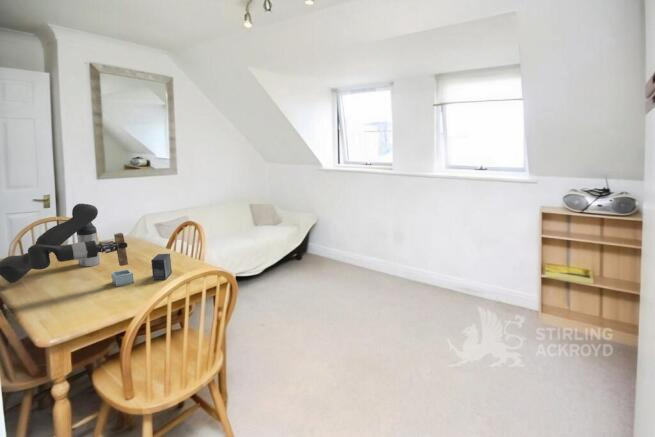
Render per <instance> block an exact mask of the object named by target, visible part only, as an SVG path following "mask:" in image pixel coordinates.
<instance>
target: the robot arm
mask: <svg viewBox="0 0 655 437" xmlns="http://www.w3.org/2000/svg"><path fill="white" fill-rule="evenodd" d="M71 212H72V213H71V217H70V218H69V219H67V220H66V221H64V222H61V223H59V224H56V225H54V226H52V227H50V228H49V229H47V230H46V231H45V232H43V233H42V234H41V235H39V236H38V237H37V239H36V241H35V244H33V245H30V246H29V247H28V249H27V252H26V253H24V254H20V255H9V256H6V257H5V258H3V259H2V260H0V276H1V277H2V278H3V279H4V280H5V281H7V282H8V283H10V284H14V283H16V282H18V281H20V280H21V279H22V278H23V277H24V276H26V274H28V273H29V272H30V271H31V270H35V271H36V270H37V271H39V270H44V269H47V268H49V266H50V264H51V258H50V254H52V253H53V254H54V256H55V258H56V260H57V262H61V263H62V262H63V263H64V262H69V261H76V260H77V262H78V265H79V266H81V267H93V266H97V265H100V263H101V258H100V253H103V254H110V253H114V252H117V251H118V249H120V248H128V243H127V242H126V241H125V240H124V242H125V243H120V244H116V243H115V241H113V240H111V241H98V232H97V228H96V226H95V225H94V223H93V221H94V220H96V219H97V217H98V213H99V211H98V208H97V207H96V206H95V205H93V204H89V203H77V204H75V205H74V206H73V208H72V211H71ZM75 233H76V237H77V238H76V239H77V242H75V243H71V244H64V243H65V242H66V241H67V240H69V239H70V238H71V237H73V235H74V234H75ZM63 244H64V245H63Z"/></svg>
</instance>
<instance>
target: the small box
mask: <svg viewBox="0 0 655 437" xmlns="http://www.w3.org/2000/svg"><path fill="white" fill-rule="evenodd" d="M150 263H151V271H152V281H166V280H168V278H169V277H170V276H171V275H172V273H173V270H172V259H171V253H158V254H156V256H154V257H153V258H152V259H151V262H150Z"/></svg>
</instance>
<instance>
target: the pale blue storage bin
mask: <svg viewBox="0 0 655 437" xmlns="http://www.w3.org/2000/svg"><path fill="white" fill-rule="evenodd" d="M111 281H112V282H111V283H112V284H113V285H114V286H115V287H116V288H117V287H123V286H126V285H131V284H134V283H135V281H134V273H133V272H132V271H131V270H130V269H129V268H128V269H122V270H116V271H112V272H111Z"/></svg>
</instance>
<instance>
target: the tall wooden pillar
mask: <svg viewBox="0 0 655 437" xmlns="http://www.w3.org/2000/svg"><path fill="white" fill-rule="evenodd" d="M113 235H114V236H113V237H114V242H115V243H116V244H120V243H126V241H125V237H124V233H122V232H118V233H114V234H113ZM124 241H125V242H124ZM126 248H127V247H126ZM126 248H120V249H118V251H116V253H117V258H118V265H119V266H120V267H124V266H128V265H129V263H128V262H129V261H128V255H127V250H126Z"/></svg>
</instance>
